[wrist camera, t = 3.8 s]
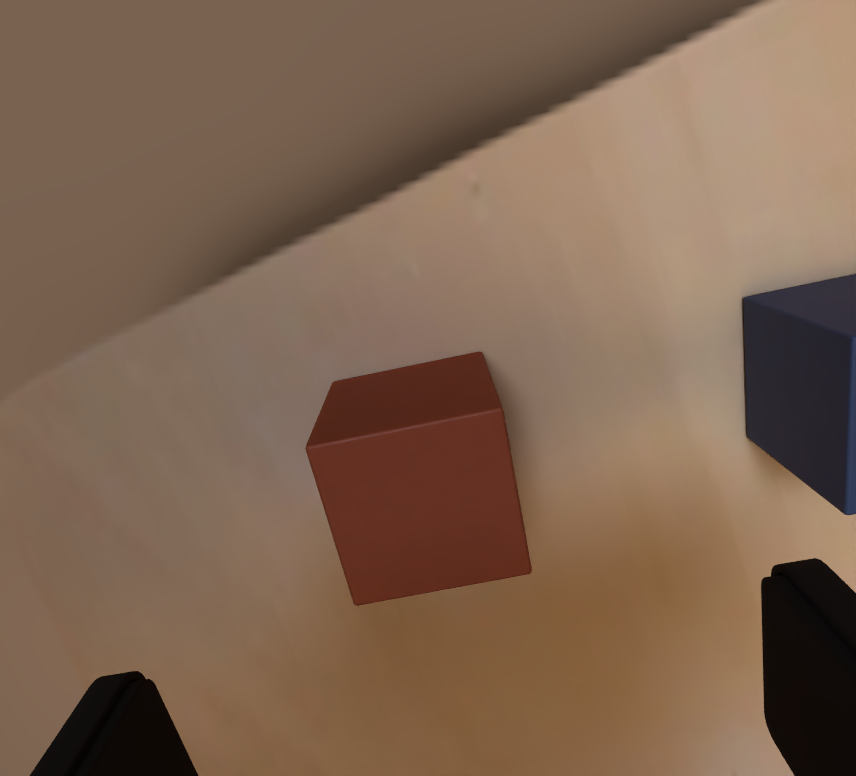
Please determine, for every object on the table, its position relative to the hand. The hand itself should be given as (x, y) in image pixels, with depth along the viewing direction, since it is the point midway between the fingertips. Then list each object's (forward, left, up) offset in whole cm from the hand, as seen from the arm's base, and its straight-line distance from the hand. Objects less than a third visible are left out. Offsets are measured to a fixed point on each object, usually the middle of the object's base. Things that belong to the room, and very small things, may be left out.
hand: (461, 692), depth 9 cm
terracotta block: (-1, 0, -10) cm, 10 cm away
